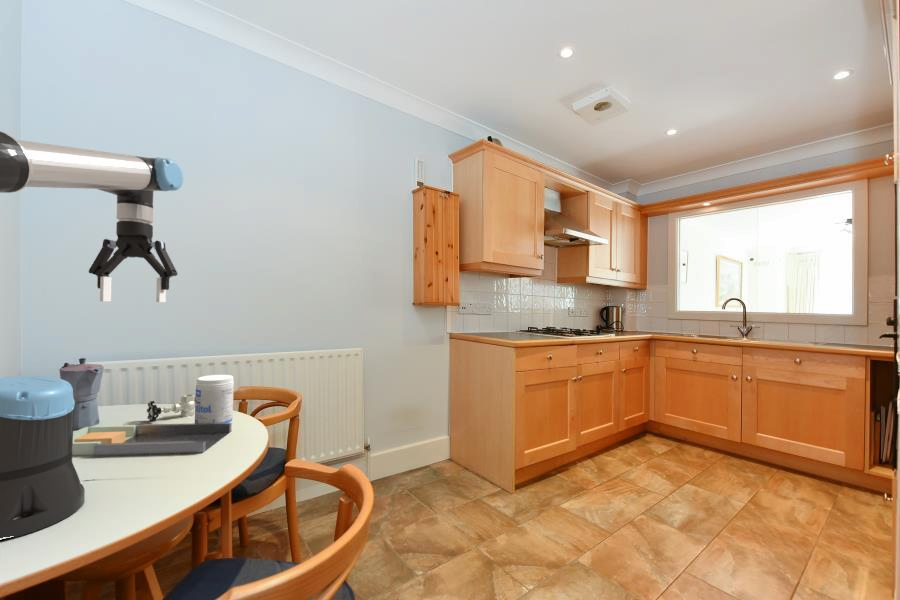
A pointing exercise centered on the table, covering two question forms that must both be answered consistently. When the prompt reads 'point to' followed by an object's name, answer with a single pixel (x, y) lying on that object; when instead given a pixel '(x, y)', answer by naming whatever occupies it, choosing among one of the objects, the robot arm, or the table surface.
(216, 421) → the supplement tub
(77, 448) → the tray
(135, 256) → the robot arm
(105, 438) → the orange flat block
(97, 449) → the tray
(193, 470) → the table surface
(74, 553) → the table surface
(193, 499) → the table surface
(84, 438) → the chip
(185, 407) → the valve
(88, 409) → the moka pot
